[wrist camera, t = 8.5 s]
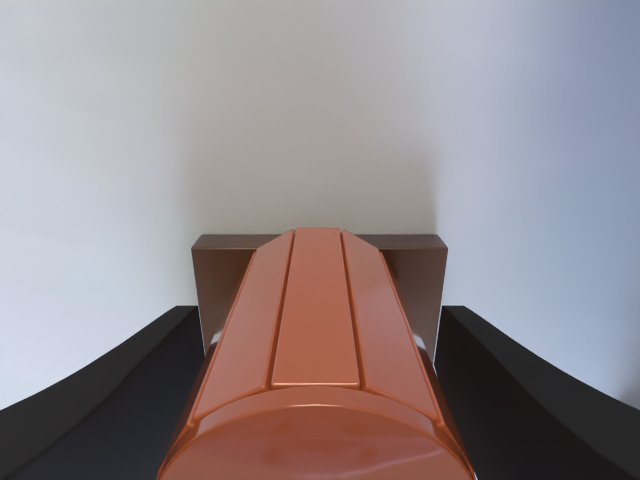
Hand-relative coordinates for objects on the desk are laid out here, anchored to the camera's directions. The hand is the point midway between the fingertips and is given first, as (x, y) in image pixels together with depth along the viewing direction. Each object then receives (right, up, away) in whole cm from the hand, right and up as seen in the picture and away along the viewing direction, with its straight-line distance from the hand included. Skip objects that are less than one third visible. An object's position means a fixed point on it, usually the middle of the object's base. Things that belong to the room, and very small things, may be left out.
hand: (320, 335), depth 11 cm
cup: (0, +1, +2) cm, 2 cm away
